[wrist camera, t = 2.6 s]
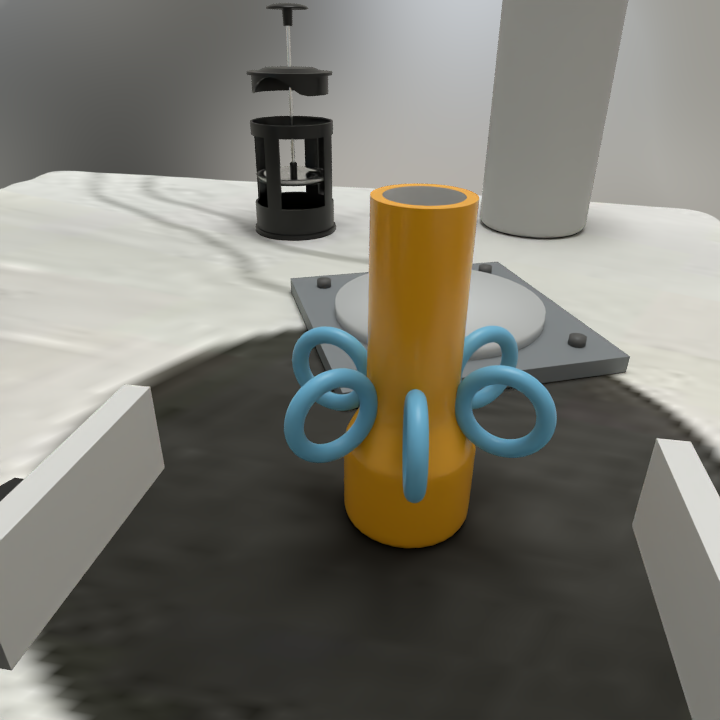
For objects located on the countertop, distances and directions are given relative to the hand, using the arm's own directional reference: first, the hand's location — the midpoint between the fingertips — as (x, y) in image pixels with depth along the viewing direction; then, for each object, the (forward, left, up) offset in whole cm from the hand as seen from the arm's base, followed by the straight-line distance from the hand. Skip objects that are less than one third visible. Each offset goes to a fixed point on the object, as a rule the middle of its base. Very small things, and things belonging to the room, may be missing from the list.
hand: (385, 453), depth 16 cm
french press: (+7, +58, -11) cm, 59 cm away
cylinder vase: (+35, +53, -11) cm, 64 cm away
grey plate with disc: (+13, +28, -10) cm, 33 cm away
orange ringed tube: (+4, +9, -11) cm, 15 cm away
